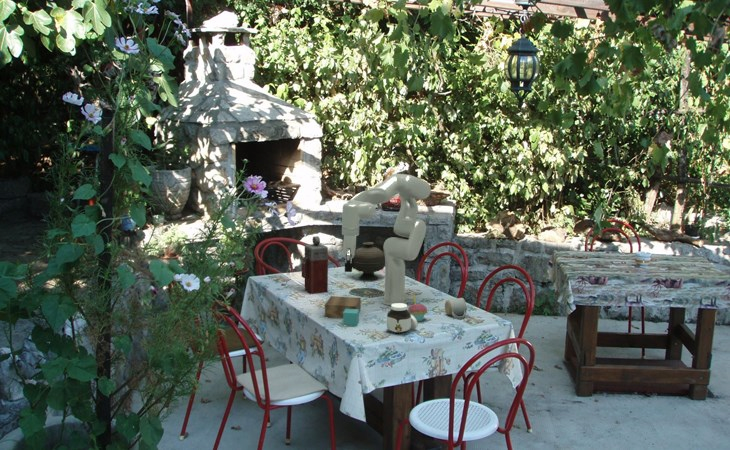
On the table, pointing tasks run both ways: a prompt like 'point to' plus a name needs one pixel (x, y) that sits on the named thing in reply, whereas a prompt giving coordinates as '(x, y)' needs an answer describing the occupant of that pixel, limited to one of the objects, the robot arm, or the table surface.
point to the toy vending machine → (315, 267)
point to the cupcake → (417, 310)
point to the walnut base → (341, 306)
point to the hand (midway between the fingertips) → (349, 269)
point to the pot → (369, 261)
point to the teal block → (351, 317)
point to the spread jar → (400, 319)
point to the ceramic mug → (456, 307)
